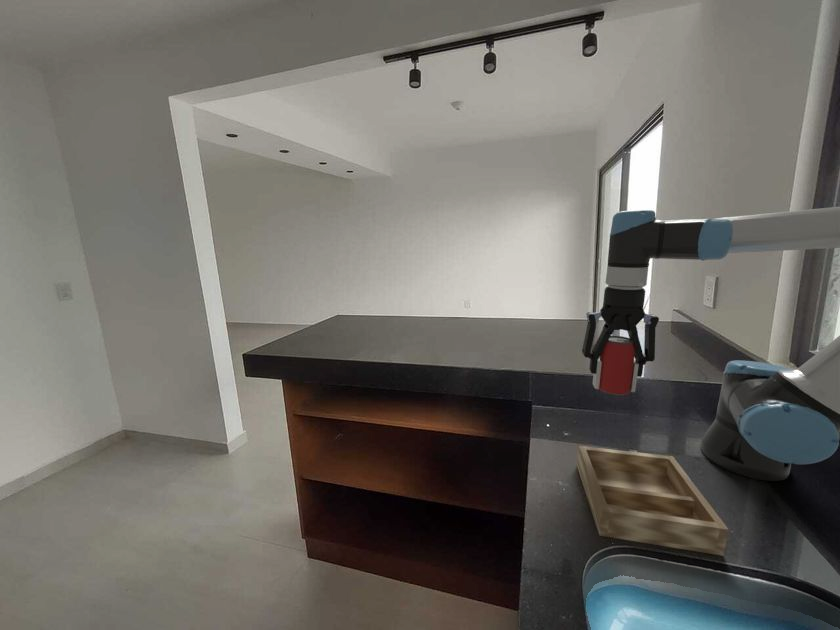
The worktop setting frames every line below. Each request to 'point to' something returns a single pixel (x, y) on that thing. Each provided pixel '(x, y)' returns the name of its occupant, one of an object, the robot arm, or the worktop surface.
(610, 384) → the beer can
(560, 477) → the worktop surface
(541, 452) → the worktop surface
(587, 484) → the crate
